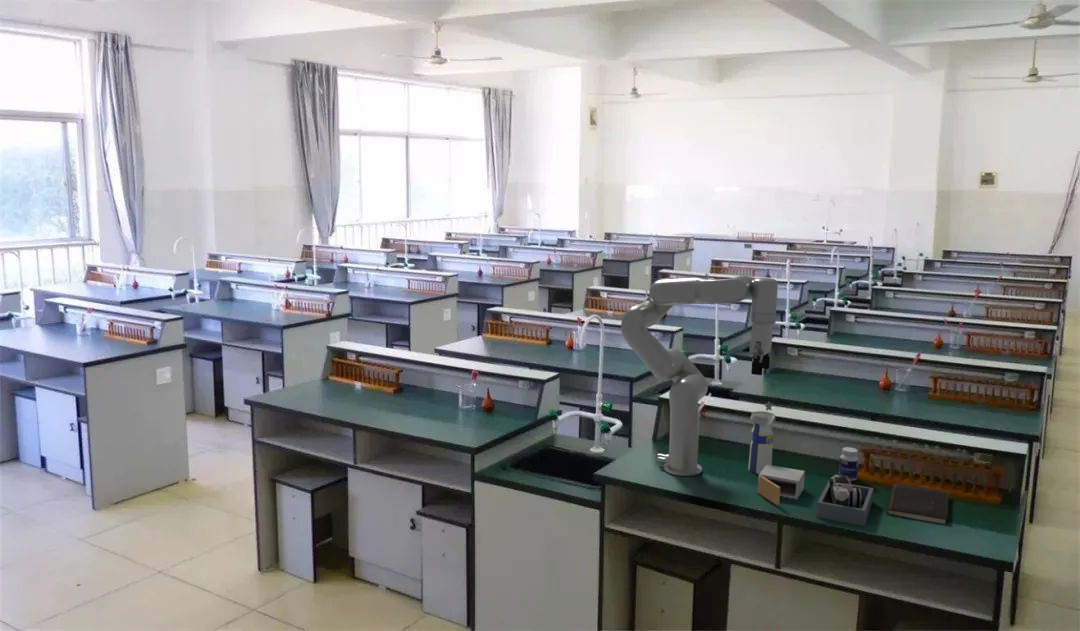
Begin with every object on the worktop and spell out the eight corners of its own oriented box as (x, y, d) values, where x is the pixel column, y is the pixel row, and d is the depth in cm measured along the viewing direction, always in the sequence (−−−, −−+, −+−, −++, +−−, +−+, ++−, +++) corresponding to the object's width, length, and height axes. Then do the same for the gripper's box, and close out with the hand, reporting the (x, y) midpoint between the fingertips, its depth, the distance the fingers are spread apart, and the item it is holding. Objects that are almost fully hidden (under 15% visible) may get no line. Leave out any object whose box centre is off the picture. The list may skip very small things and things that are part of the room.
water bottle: (779, 471, 282) (783, 398, 278) (761, 476, 278) (765, 402, 273) (759, 464, 289) (763, 393, 285) (742, 468, 284) (746, 396, 280)
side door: (756, 492, 263) (757, 475, 262) (759, 492, 263) (760, 474, 262) (776, 505, 252) (777, 487, 251) (779, 505, 253) (780, 487, 252)
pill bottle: (838, 480, 275) (840, 450, 273) (839, 474, 280) (841, 445, 278) (856, 482, 273) (859, 453, 271) (857, 476, 278) (859, 447, 276)
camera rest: (816, 517, 245) (817, 502, 244) (827, 494, 262) (828, 480, 261) (864, 525, 239) (865, 510, 238) (872, 502, 256) (873, 488, 255)
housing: (758, 492, 263) (759, 474, 262) (765, 482, 272) (766, 464, 271) (797, 499, 258) (798, 480, 257) (803, 489, 266) (804, 470, 265)
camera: (864, 521, 242) (866, 488, 240) (832, 519, 244) (835, 486, 242) (855, 501, 257) (857, 469, 256) (825, 498, 259) (828, 467, 257)
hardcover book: (948, 499, 261) (948, 492, 260) (946, 526, 240) (947, 518, 240) (892, 490, 268) (892, 483, 267) (886, 516, 247) (886, 508, 247)
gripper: (757, 313, 272) (754, 364, 275) (744, 320, 257) (741, 375, 260) (781, 315, 268) (778, 367, 271) (769, 323, 253) (766, 378, 256)
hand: (760, 371), depth 265 cm, fingers open, 9 cm apart
